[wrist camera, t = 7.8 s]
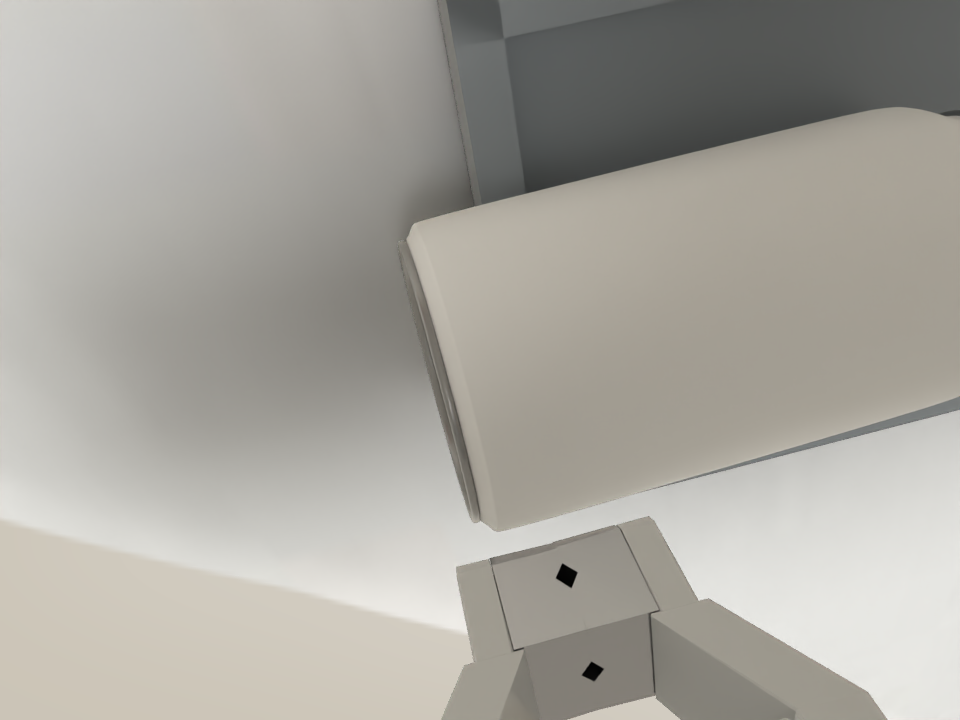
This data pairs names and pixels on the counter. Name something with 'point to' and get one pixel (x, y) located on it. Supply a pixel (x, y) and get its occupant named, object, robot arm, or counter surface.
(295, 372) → the counter surface
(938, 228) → the can
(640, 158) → the tray
